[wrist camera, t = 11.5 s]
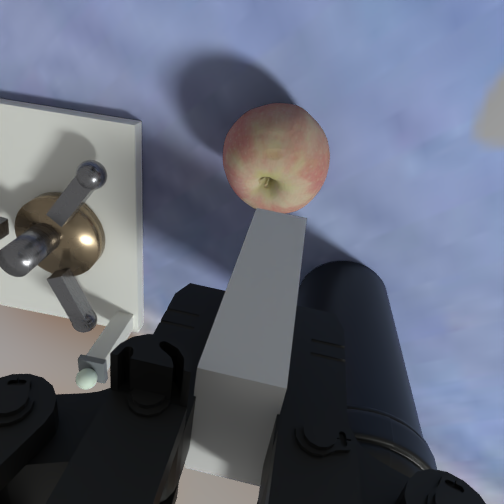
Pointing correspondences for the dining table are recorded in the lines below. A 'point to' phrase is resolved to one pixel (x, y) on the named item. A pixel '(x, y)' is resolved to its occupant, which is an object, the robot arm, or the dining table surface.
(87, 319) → the capstan
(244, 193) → the apple
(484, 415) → the dining table surface
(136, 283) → the stand base
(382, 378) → the water bottle
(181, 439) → the robot arm
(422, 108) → the dining table surface
